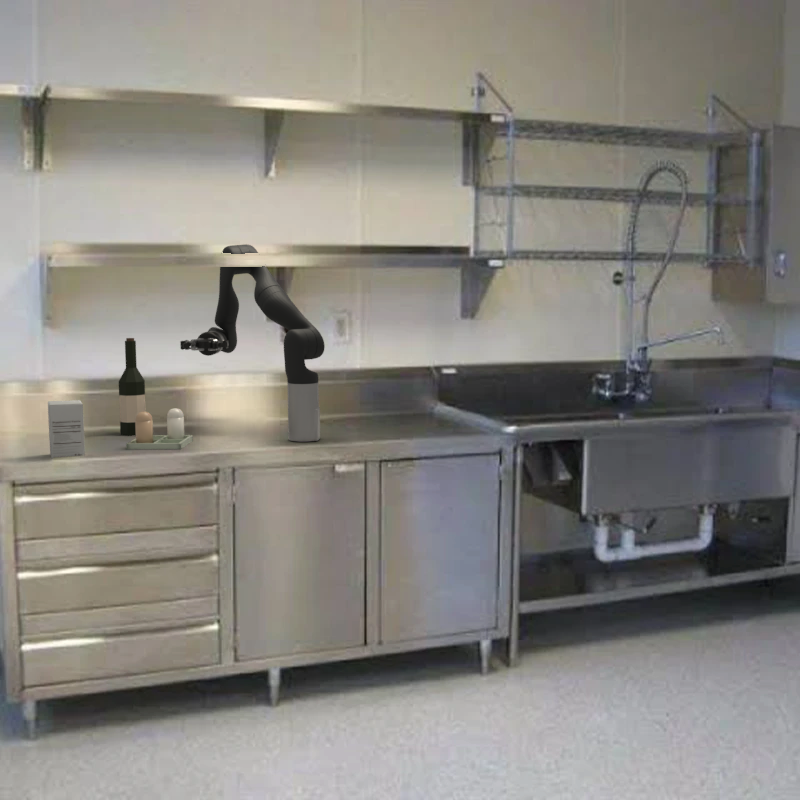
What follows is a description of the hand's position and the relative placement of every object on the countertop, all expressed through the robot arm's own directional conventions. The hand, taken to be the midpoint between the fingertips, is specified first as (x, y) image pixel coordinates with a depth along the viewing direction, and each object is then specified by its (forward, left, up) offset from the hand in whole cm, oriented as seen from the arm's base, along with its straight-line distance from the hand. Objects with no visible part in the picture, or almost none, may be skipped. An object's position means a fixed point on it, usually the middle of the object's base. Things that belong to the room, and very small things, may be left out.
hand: (199, 346), depth 316 cm
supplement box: (+30, +34, -28) cm, 53 cm away
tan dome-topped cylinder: (+12, +23, -27) cm, 37 cm away
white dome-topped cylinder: (+4, +15, -27) cm, 32 cm away
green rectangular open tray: (+8, +19, -28) cm, 35 cm away
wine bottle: (+23, -6, -28) cm, 37 cm away
